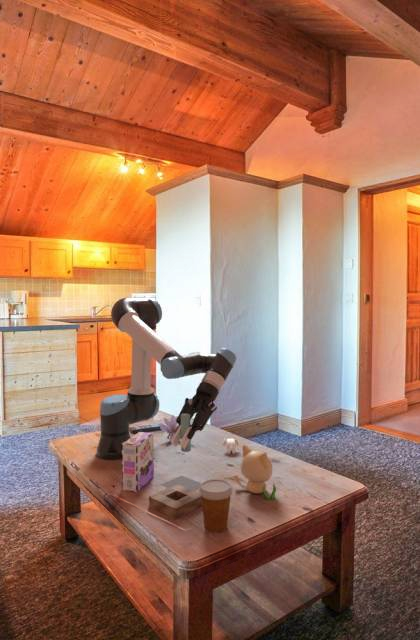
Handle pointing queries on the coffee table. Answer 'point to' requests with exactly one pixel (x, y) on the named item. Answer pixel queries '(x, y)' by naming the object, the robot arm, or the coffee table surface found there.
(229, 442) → the elephant figurine
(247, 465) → the kitten
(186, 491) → the hole block
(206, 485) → the disposable coffee cup
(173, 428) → the water lily
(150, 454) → the candy box
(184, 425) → the peg
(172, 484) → the mat
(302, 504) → the coffee table surface
